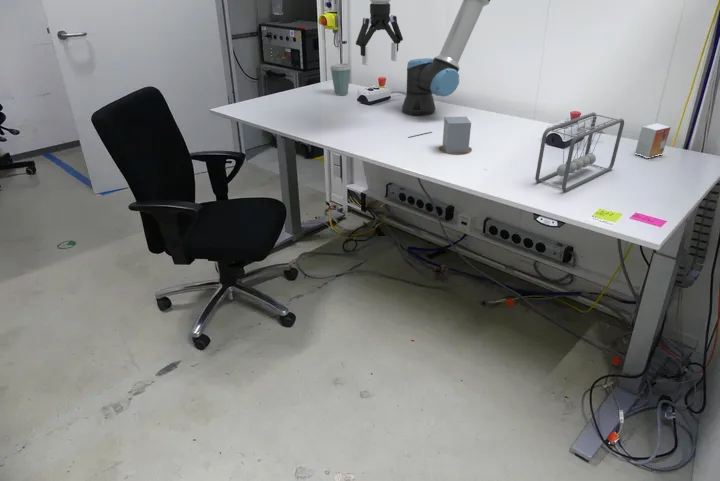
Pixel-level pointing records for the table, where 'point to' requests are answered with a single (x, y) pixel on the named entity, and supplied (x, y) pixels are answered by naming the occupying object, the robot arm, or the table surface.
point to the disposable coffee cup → (341, 78)
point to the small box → (652, 139)
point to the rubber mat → (420, 134)
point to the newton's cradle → (582, 160)
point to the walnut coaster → (453, 153)
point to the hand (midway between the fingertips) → (379, 62)
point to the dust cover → (456, 134)
